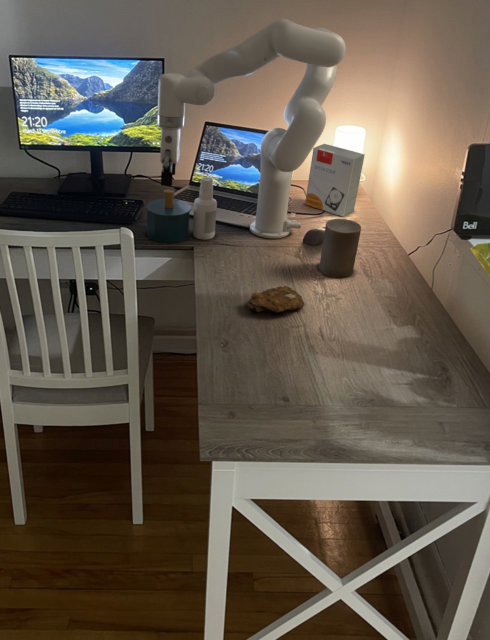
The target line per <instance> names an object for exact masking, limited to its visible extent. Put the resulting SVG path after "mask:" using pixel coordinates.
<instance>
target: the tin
mask: <svg viewBox="0 0 490 640" xmlns="http://www.w3.org/2000/svg"><path fill="white" fill-rule="evenodd" d="M146 213H147V215H146V216H147V217H146V234H147V237H148V238H149V239H150V240H152V241H154V242H158V243H164V244H174V243H180V242H183V241H185V240H186V239H188V237H189V233H190V232H189V231H190V213H191V211H190V212H189V213H188V214H186V215H183V216H178V217H163V216H157V215H154V214H151V213H150V212H148V211H147V210H146Z"/></svg>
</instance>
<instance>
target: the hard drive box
mask: <svg viewBox="0 0 490 640" xmlns="http://www.w3.org/2000/svg"><path fill="white" fill-rule="evenodd" d="M311 156H312V157H311V162H310V169H309V175H308V183H307V188H306V195H305V201H304V205H306V206H309V207H312V208H315V209H318V210H322V211H325V212H328V213H331V214H333V215H337V216H340V217H343V218H344V217H345V216H347V215H350V214H352V213H353V212H355V206H356V201H357V196H358V191H359V185H360V181H361V176H362V171H363V165H364V161H365V156H366V155H365V154H364V153H361V152H358V151H353V150H350V149H346V148H342V147H339V146H335V145H331V144H327V143H322V144H320V145H317V146H314V147H313V148H312V155H311Z"/></svg>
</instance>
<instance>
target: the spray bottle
mask: <svg viewBox="0 0 490 640" xmlns="http://www.w3.org/2000/svg"><path fill="white" fill-rule="evenodd" d="M213 180H214V178H212V177H209V176H204V177H203V176H202V177H201V179H200V185H199V192H198V193H199V194H198V197H197V198H195V199H194V201H193V221H192V236H193V237H194V238H196V239H199V240H211V239H213V238H215V235H216V222H217V207H218V201H217V199H215V198H214V185H213Z"/></svg>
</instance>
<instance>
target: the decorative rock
mask: <svg viewBox="0 0 490 640" xmlns="http://www.w3.org/2000/svg"><path fill="white" fill-rule="evenodd" d="M304 304H305V302H304V300H303V296H302V295H300V294H299V293H298V292H297V291H296V290H295V289H292V287H290V286H287V285H284V286H277V287H272V288H269V289H266V290H263V291H261V292H252V293H251V297H250V301H248V303H247V304H246V306H248V309H249V310H252V311H254V312H255V313H260V312H265V311H271V312H272V313H277V314H278V313H280V312H281V313H282V312H286V311H288V310H290V311H293V310H297V311H301V310H302V309H303V307H305V306H304Z"/></svg>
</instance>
